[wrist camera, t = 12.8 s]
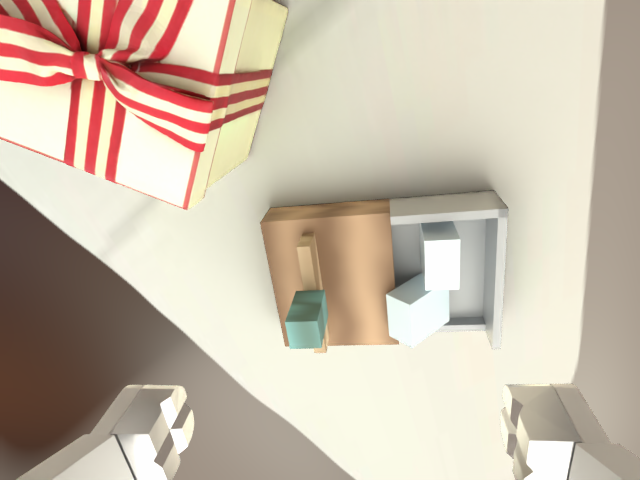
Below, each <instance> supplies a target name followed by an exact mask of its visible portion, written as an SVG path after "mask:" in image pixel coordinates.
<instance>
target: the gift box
mask: <svg viewBox="0 0 640 480" xmlns="http://www.w3.org/2000/svg"><path fill="white" fill-rule="evenodd" d="M287 14H288V8H287V7H285V6H282V5H280V4H278V3H276V2H275V1H273V0H0V139H2V140H5V141H7V142H10V143H13V144H15V145H18V146H21V147H23V148H26V149H28V150H31V151H34V152H36V153H39V154H42V155H44V156H47V157H49V158H52V159H55V160H58V161H60V162H63V163H66V164H67V165H70V166H72V167H75V168H78V169H81V170H83V171H86V172H89V173H91V174H94V175H97V176H99V177H101V178H104V179H106V180H109V181H111V182H114V183H117V184H120V185H123V186H126V187H128V188H131V189H133V190H136V191H138V192H141V193H144V194H146V195H149V196H151V197H154V198H157V199H159V200H162V201H164V202H167V203H170V204H172V205H175V206H177V207H180V208H183V209H185V210H189V209H190V208H192V207H193V206H194V205H196V204H197V203H198V202H200V201H201V200H202V199H203V198H204V196H205V192H206V189H207V188H208V187H210V186H211V185H212V184H213V183H215V182H216V181H218V180H219V179H221V178H222V177H223V176H225V175H226V174H227V173H229V172H230V171H231V170H233V169H234V168H236V167H237V166H238V165H240V164H241V163H243V162H244V161H245V160H246V159H247V157H248V155H249V151H250V148H251V144H252V141H253V137H254V133H255V130H256V126H257V123H258V119H259V116H260V112H261V109H262V107H263V104H264V100H265V97H266V94H267V90H268V86H269V82H270V79H271V75H272V70H273V66H274V62H275V59H276V55H277V52H278V48H279V44H280V41H281V37H282V33H283V29H284V26H285V22H286V18H287Z"/></svg>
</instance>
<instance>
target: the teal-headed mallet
mask: <svg viewBox="0 0 640 480" xmlns="http://www.w3.org/2000/svg"><path fill="white" fill-rule="evenodd" d="M297 252H298V258H299V263H300V269H301V275H302V281H303V287H304V291H296V292H295V295H294V298H293V301H292V303H291V306H290V309H289V312H288V315H287V318H286V320H285V325H286V330H287V336H288V341H289V346H290V349H303V348H314V353H326V350H327V345H328V340H329V328H328V321H327V319H328V309H327V302H326V295H325V290H323V287H322V280H321V273H320V267H319V260H318V253H317V246H316V239H315V233H306V234H302V236H301V238H300V241H299V243H298V245H297Z"/></svg>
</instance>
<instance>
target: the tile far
mask: <svg viewBox="0 0 640 480" xmlns="http://www.w3.org/2000/svg"><path fill="white" fill-rule="evenodd" d="M386 301H387V314H388V327H389V336H391V337H392V338H394V339H396V340H398V341H400V342H401V343H403V344H405V345H407V346H409V347H411V348H413V347H415V346H416V345H417V344H419V343H420V342H421V341H423V340H424V339H425V338H427V337H428V336H429V335H431V334H432V333H434V332H435V331H436V330H438V329H439V328H440V327H442V326H443V325H444V324H446V323H447V322H448V321H449V290H425V286H424V280H423V275H422V273H420V274H419V275H417V276H415V277H414V278H412V279H410V280H409V281H407V282H405V283H404V284H402V285H400V286H399V287H397V288H395V289H394V290H392V291H391V292H389V293H387V294H386Z"/></svg>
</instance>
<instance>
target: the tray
mask: <svg viewBox="0 0 640 480" xmlns="http://www.w3.org/2000/svg"><path fill="white" fill-rule="evenodd" d="M389 200H390V220H391V231H392V246H393V261H394V276H395V288H397V287H399V286H400V285H402V284H404V283H405V282H407V281H409V280H410V279H412V278H414V277H415V276H417V275H419V274H420V273H422V269H421V263H420V239H419V223H430V222H444V221H453V223H454V225H455V227H456V230H457V232H458V235H459V237H460V280H459V290H449V321H448V322H447V323H446V324H444V325H443V326H442V327H440V328H439V329H438V330H436V331H435V332H454V331H486V333H487V336H488V339H489V342H490V344H491V347H492V349H501V333H502V315H503V297H504V279H505V261H506V243H507V225H508V207H507V206H506V205H505V203H504V202H503V201H502V200H501V198H500V197H499V196H498V195H497V193H496V192H495V191H481V192H468V193H456V194H443V195H430V196H418V197H405V198H392V199H389Z"/></svg>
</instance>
